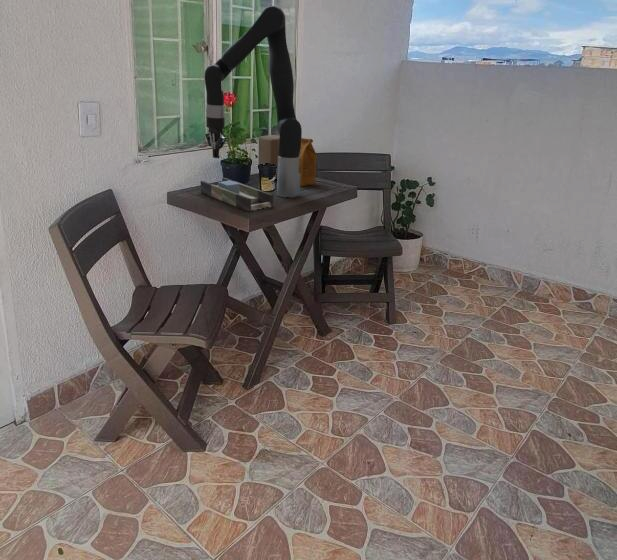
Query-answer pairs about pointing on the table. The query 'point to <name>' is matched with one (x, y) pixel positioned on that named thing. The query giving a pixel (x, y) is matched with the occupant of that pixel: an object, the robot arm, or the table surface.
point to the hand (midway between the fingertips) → (215, 157)
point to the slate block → (229, 186)
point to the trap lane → (239, 196)
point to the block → (268, 150)
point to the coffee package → (307, 162)
